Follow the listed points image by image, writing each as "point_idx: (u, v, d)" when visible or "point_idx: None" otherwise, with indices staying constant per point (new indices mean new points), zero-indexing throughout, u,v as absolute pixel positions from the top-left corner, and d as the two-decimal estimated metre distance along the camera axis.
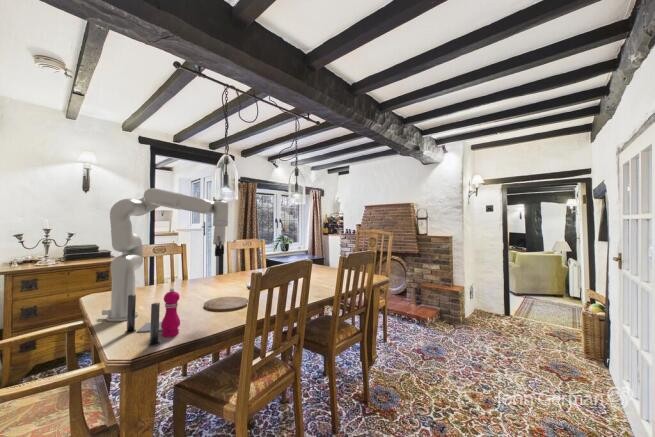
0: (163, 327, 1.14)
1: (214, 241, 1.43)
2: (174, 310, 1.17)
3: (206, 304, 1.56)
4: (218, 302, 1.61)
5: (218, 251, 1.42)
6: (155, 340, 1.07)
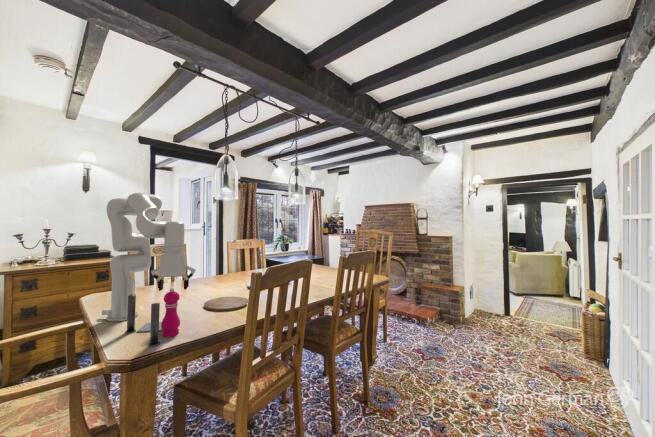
0: (163, 327, 1.14)
1: (184, 271, 1.17)
2: (174, 310, 1.17)
3: (206, 304, 1.56)
4: (218, 302, 1.61)
5: (188, 282, 1.19)
6: (155, 340, 1.07)
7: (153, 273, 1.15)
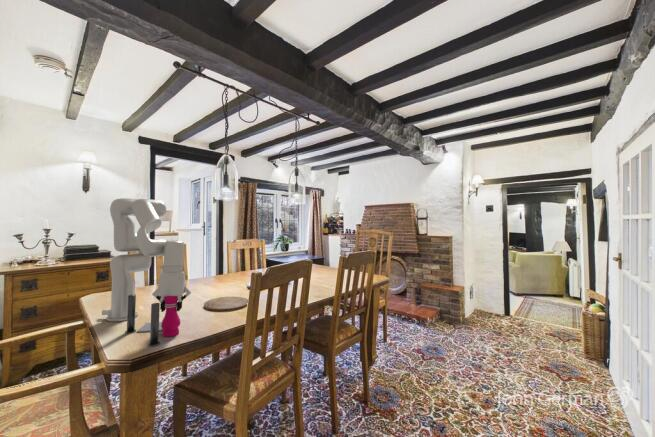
0: (163, 327, 1.14)
1: (183, 291, 1.17)
2: (174, 310, 1.17)
3: (206, 304, 1.56)
4: (218, 302, 1.61)
5: (181, 304, 1.19)
6: (155, 340, 1.07)
7: (155, 295, 1.16)
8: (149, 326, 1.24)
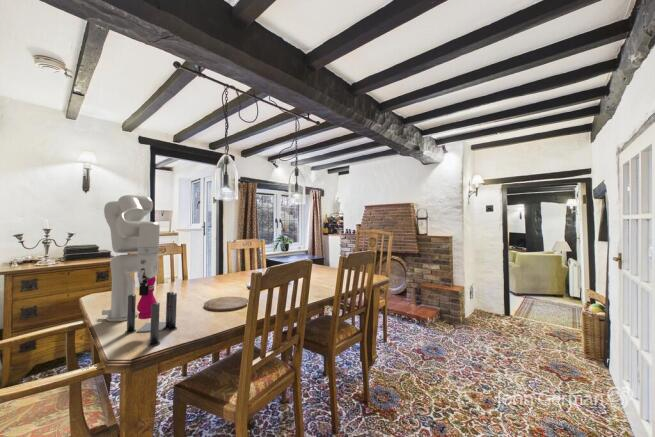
0: None
1: None
2: None
3: (206, 304, 1.56)
4: (218, 302, 1.61)
5: None
6: (155, 340, 1.07)
7: (142, 280, 1.10)
8: (149, 326, 1.24)
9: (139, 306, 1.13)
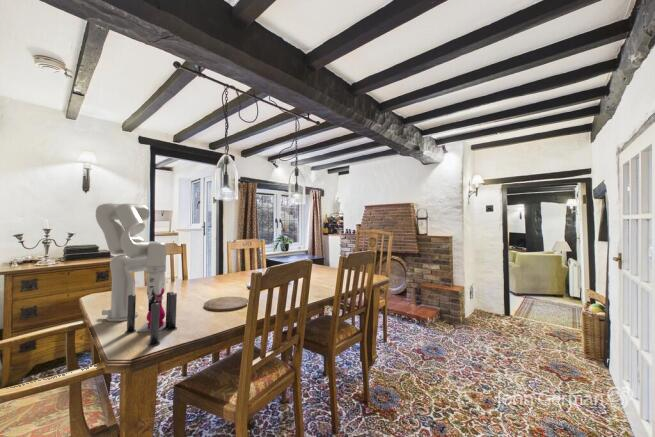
0: (161, 317, 1.24)
1: None
2: None
3: (206, 304, 1.56)
4: (218, 302, 1.61)
5: None
6: (155, 340, 1.07)
7: (151, 296, 1.19)
8: None
9: (149, 316, 1.22)
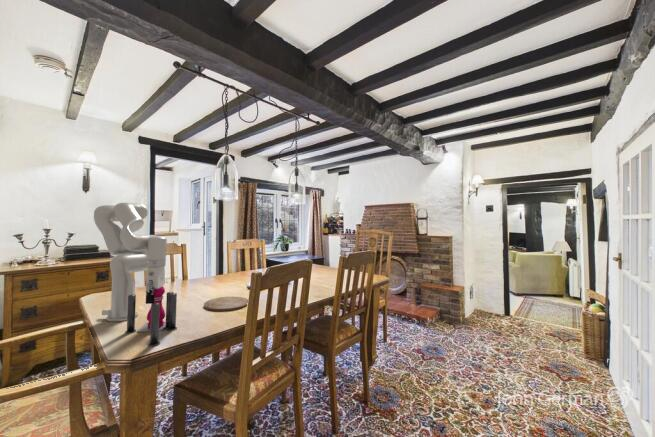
0: (161, 317, 1.24)
1: None
2: None
3: (206, 304, 1.56)
4: (218, 302, 1.61)
5: None
6: (155, 340, 1.07)
7: (149, 288, 1.18)
8: None
9: (149, 315, 1.22)
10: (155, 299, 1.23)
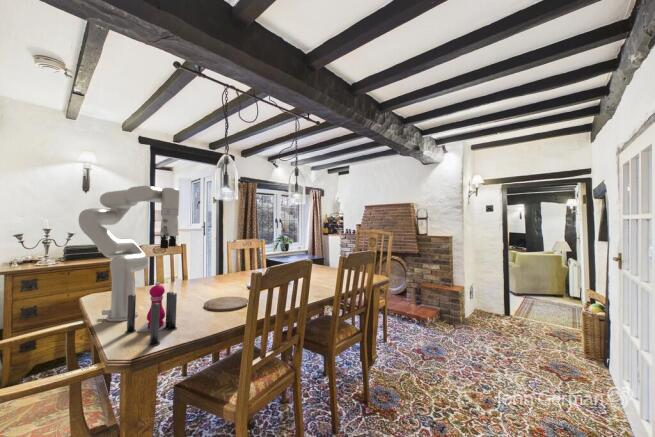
0: (161, 317, 1.24)
1: None
2: None
3: (206, 304, 1.56)
4: (218, 302, 1.61)
5: None
6: (155, 340, 1.07)
7: (163, 233, 1.27)
8: None
9: (149, 315, 1.22)
10: (155, 299, 1.23)
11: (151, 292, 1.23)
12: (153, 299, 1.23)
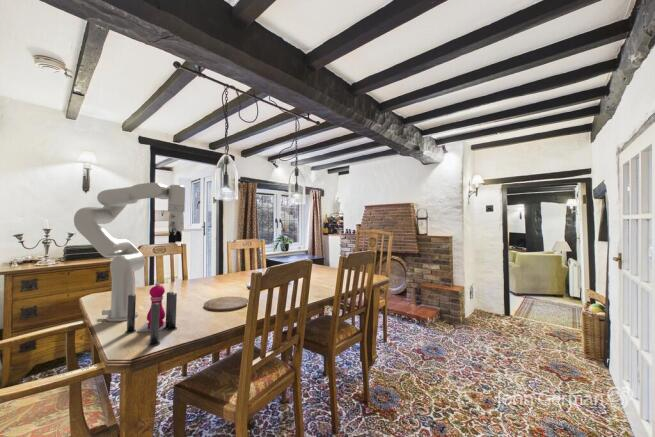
0: (161, 317, 1.24)
1: None
2: None
3: (206, 304, 1.57)
4: (218, 302, 1.61)
5: None
6: (155, 340, 1.07)
7: (172, 228, 1.32)
8: None
9: (149, 315, 1.22)
10: (155, 299, 1.23)
11: (151, 292, 1.22)
12: (153, 299, 1.23)
